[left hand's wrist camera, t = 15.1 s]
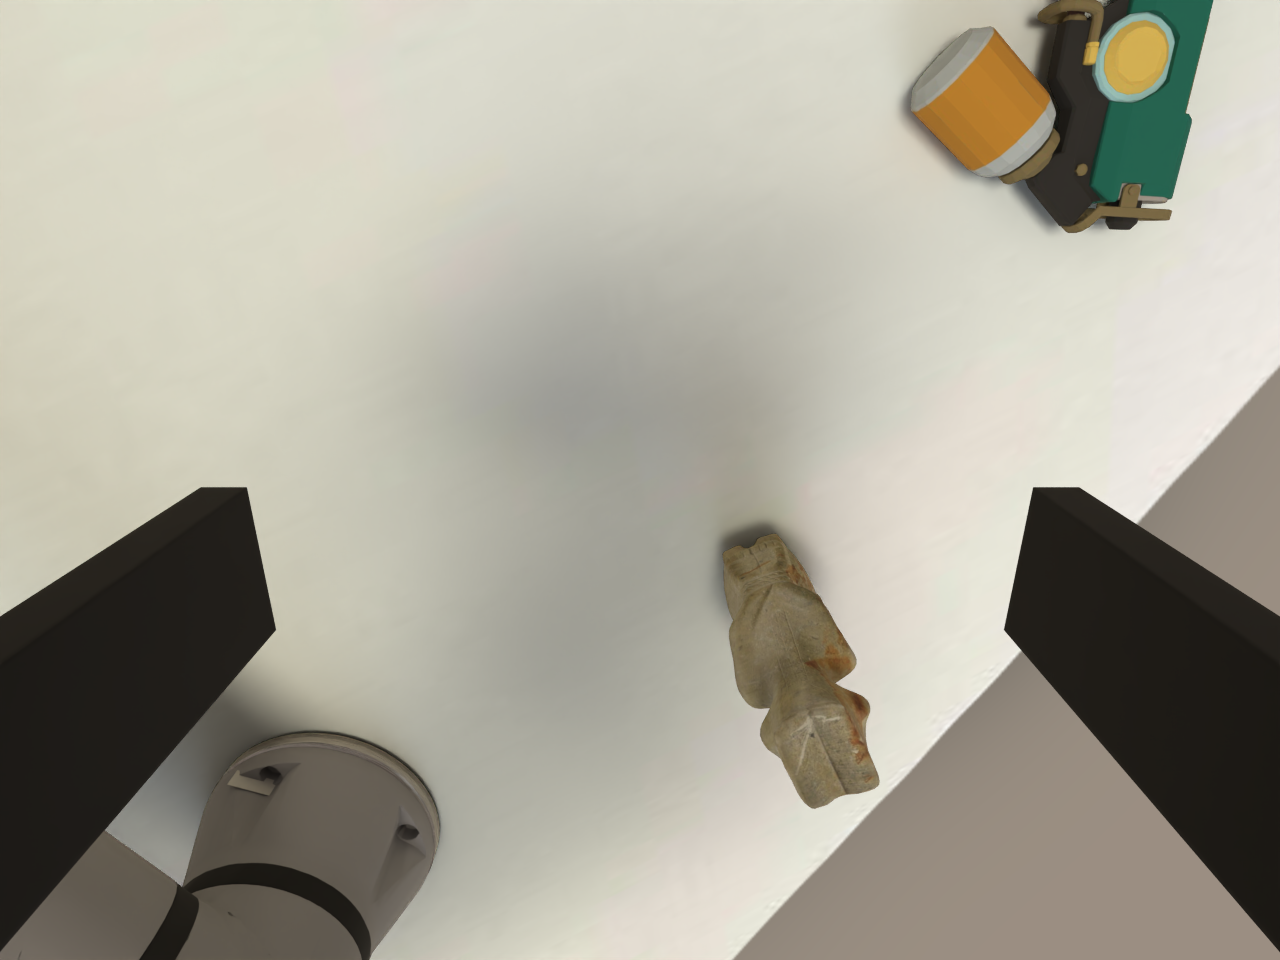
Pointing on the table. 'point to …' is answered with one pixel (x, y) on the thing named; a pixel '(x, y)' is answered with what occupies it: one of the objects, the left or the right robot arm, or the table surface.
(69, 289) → the table surface
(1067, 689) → the left robot arm
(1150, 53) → the spray gun
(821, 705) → the sculpture
